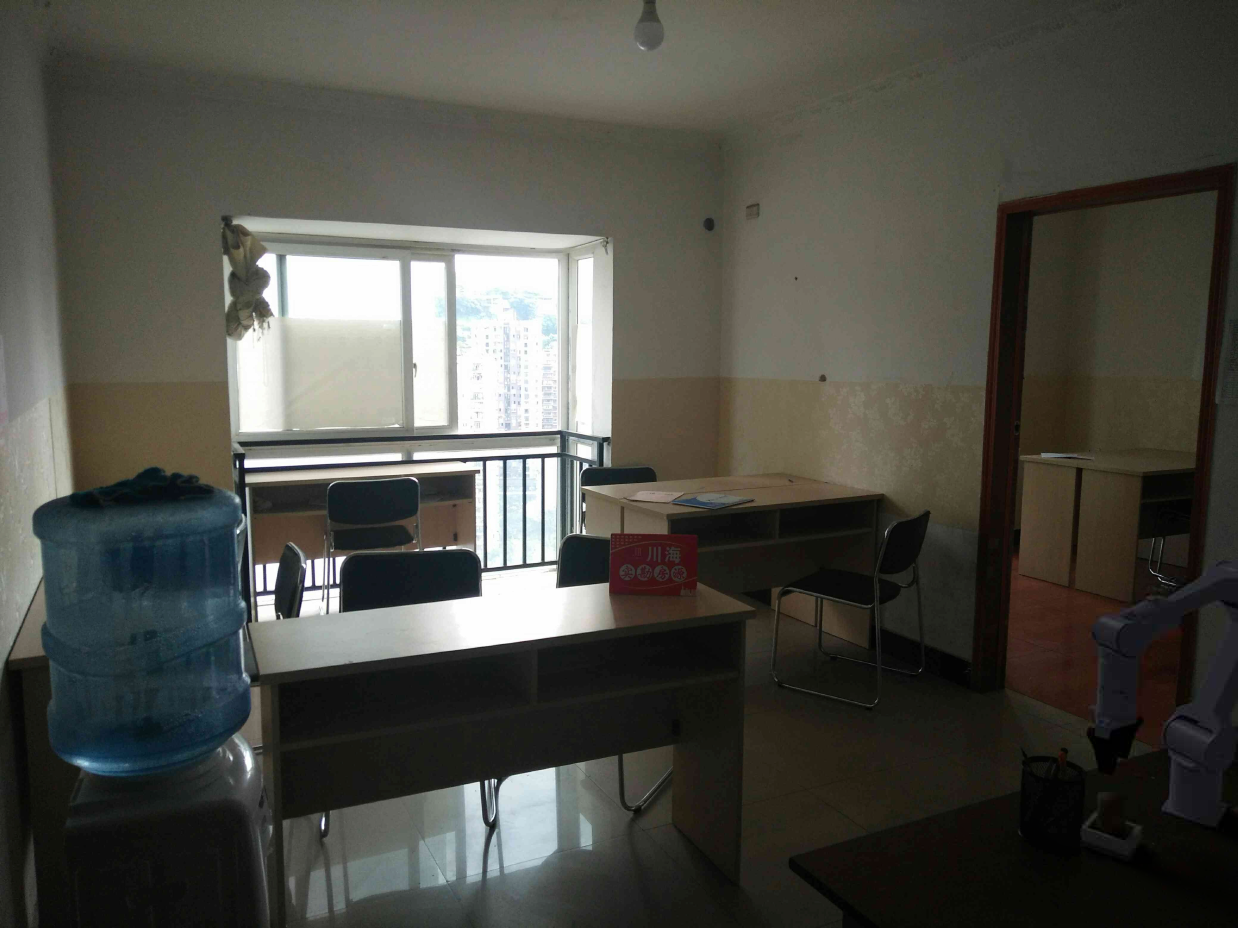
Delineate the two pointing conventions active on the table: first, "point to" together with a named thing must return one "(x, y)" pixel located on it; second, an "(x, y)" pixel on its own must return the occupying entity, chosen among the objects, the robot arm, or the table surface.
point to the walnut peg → (1111, 814)
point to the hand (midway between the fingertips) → (1113, 764)
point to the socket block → (1111, 839)
